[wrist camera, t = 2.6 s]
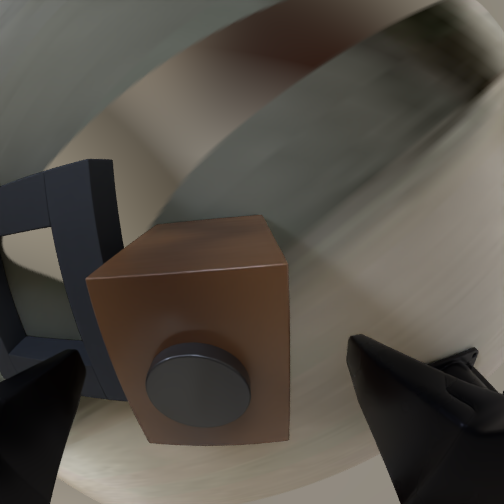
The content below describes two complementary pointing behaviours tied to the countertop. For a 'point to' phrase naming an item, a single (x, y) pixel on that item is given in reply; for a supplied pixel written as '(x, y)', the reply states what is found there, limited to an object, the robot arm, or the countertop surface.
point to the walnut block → (200, 331)
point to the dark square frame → (64, 263)
